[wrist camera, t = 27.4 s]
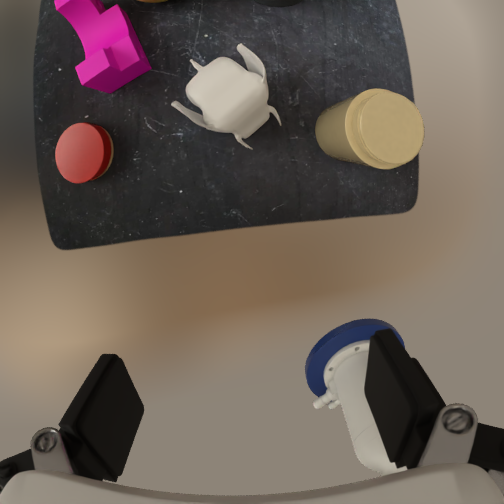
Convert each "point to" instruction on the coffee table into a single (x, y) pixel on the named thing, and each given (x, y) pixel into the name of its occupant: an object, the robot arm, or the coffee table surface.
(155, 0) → the yellow bowl
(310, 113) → the coffee table surface
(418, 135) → the jar
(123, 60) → the toy block
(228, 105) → the elephant figurine
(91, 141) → the lid
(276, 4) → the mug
